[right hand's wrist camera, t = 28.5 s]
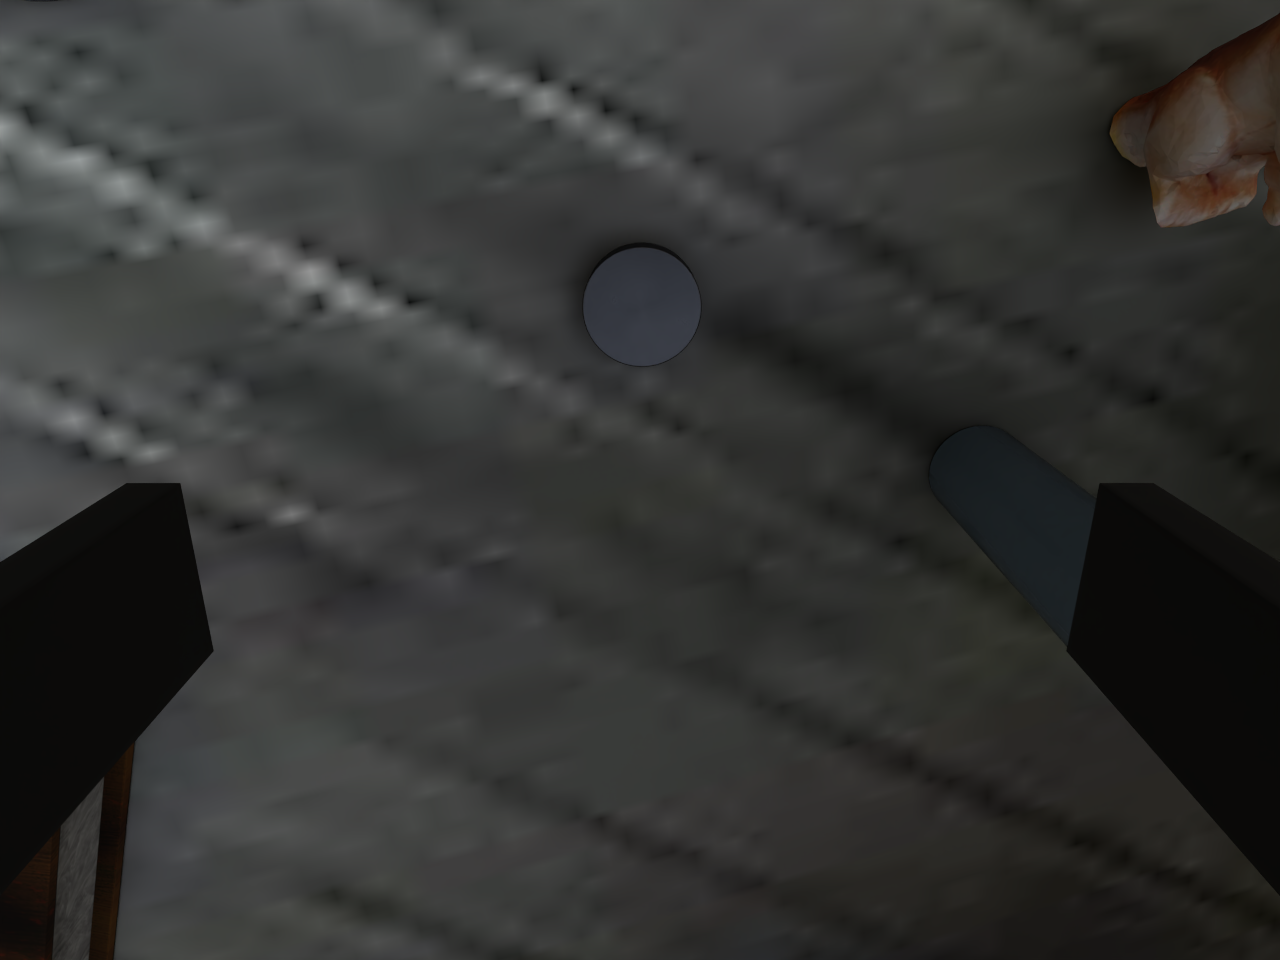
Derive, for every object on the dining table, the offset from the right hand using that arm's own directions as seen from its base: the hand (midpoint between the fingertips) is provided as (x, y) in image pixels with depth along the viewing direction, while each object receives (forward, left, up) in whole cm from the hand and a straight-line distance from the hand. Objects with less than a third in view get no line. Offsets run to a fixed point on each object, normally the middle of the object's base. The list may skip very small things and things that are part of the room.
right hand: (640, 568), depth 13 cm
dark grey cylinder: (+9, +16, -27) cm, 33 cm away
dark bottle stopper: (0, 0, -26) cm, 26 cm away
